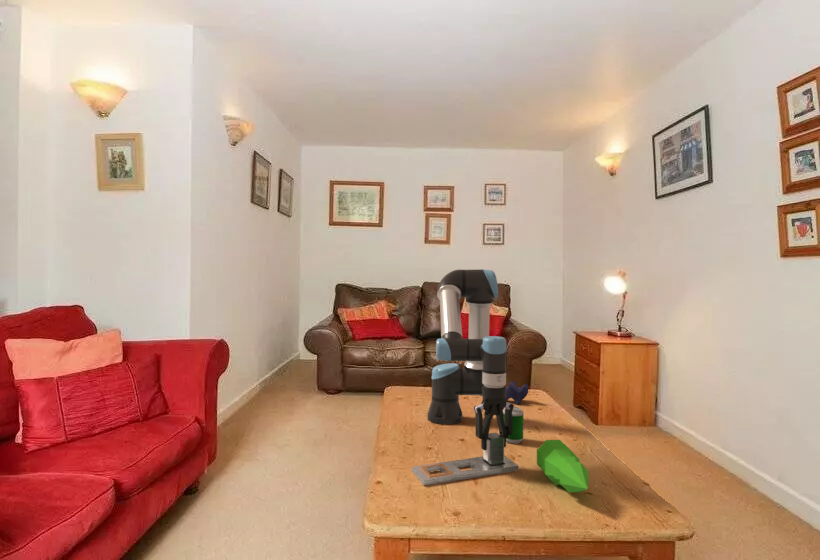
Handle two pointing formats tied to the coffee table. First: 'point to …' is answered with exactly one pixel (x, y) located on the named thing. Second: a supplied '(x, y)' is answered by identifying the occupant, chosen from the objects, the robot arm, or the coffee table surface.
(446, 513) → the coffee table surface
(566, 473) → the decorative tree
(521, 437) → the soda can
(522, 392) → the tetrapod
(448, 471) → the grey board with holes
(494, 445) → the rectangular block
